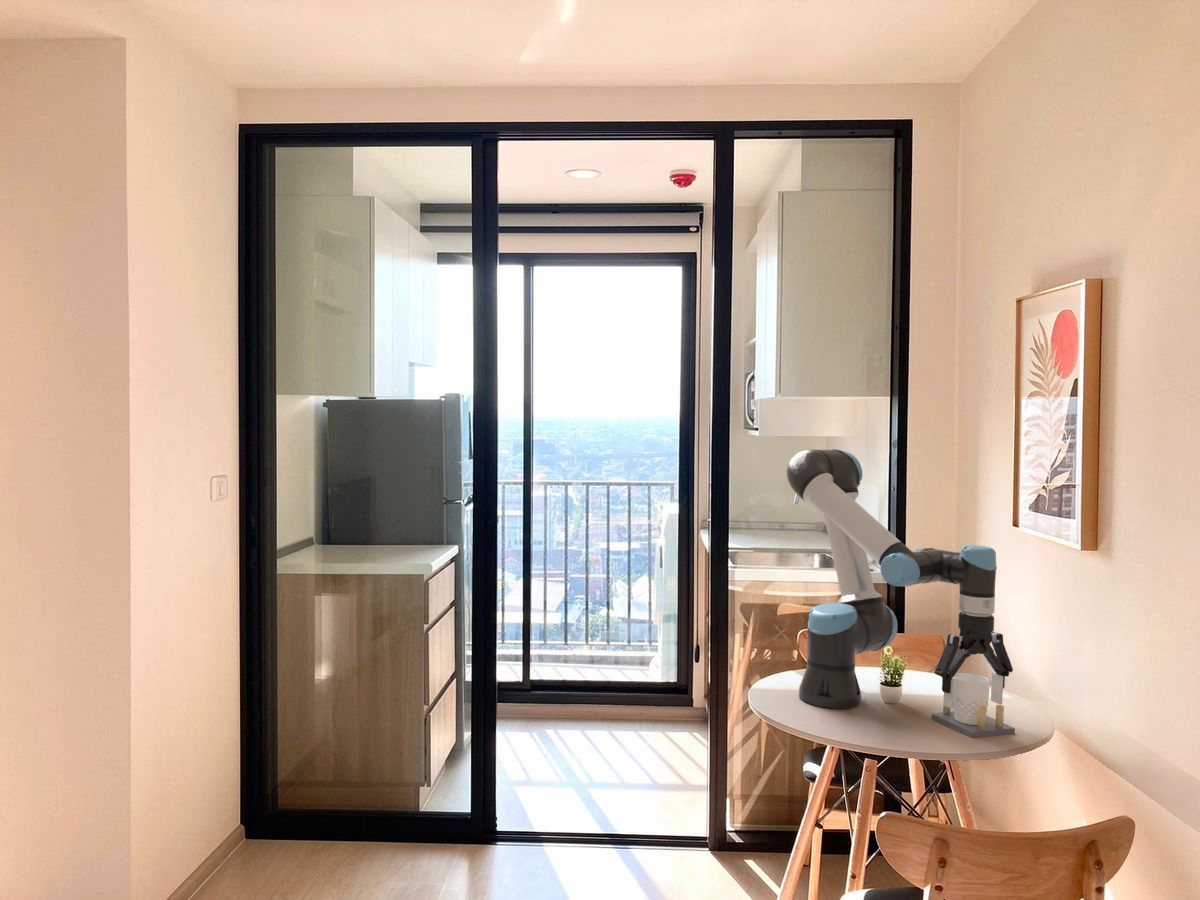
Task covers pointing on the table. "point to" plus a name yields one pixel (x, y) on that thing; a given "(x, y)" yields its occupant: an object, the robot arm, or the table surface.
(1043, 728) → the table surface
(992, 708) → the table surface
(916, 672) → the table surface
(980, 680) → the white cup
